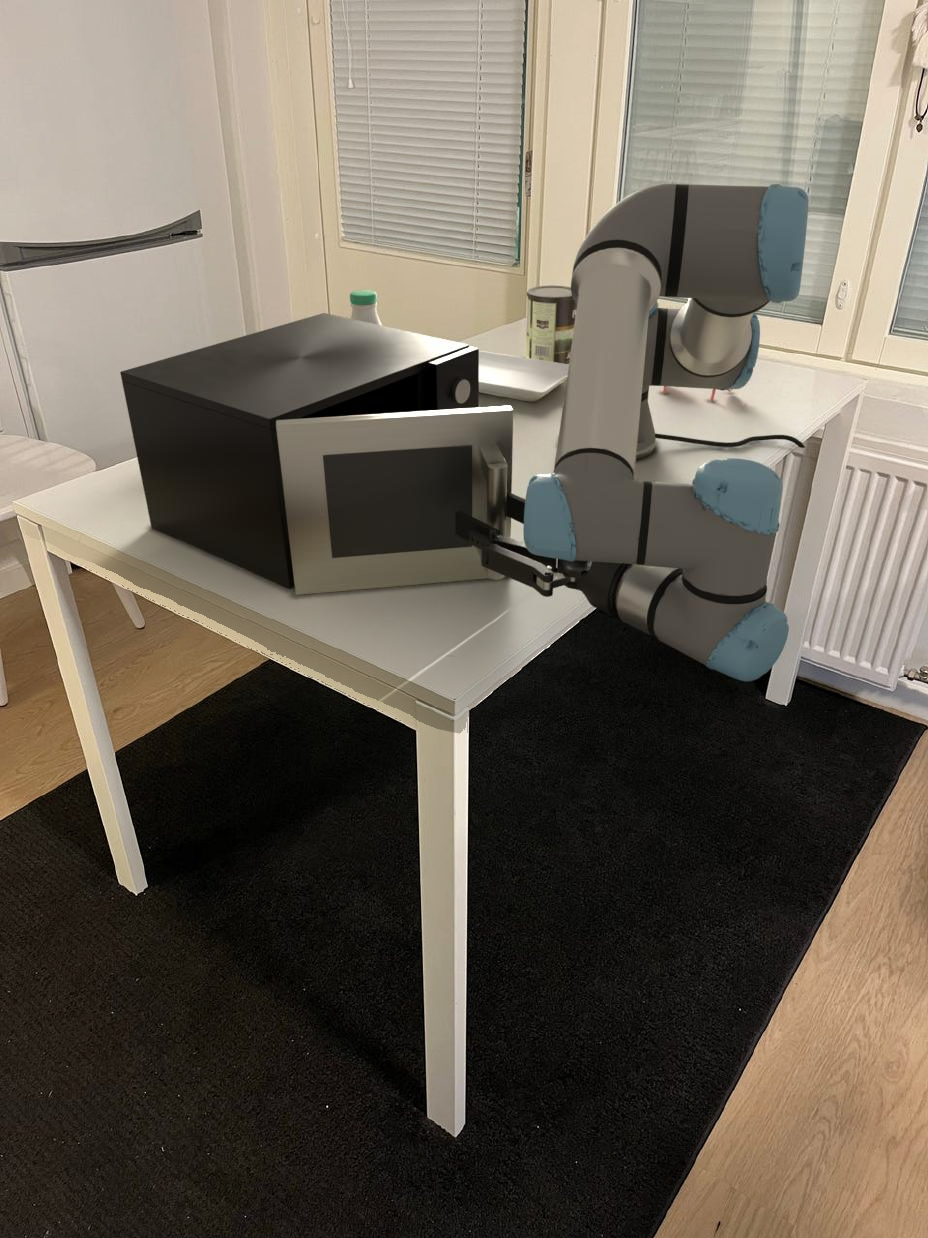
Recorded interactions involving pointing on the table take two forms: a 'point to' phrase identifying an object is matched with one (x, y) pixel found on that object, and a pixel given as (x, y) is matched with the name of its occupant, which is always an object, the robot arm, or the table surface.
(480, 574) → the microwave door
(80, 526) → the table surface
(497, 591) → the table surface
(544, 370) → the tray
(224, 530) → the microwave
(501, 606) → the table surface
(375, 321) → the milk bottle
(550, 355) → the coffee can
